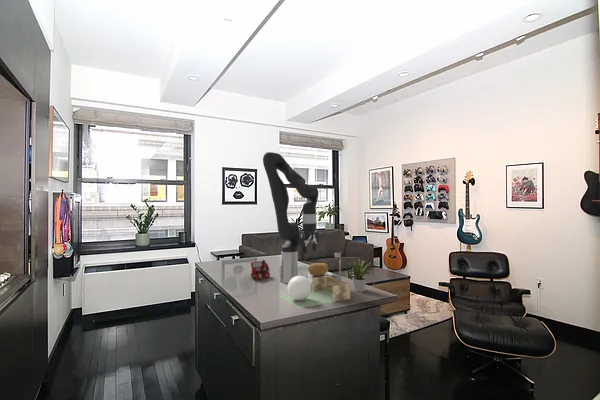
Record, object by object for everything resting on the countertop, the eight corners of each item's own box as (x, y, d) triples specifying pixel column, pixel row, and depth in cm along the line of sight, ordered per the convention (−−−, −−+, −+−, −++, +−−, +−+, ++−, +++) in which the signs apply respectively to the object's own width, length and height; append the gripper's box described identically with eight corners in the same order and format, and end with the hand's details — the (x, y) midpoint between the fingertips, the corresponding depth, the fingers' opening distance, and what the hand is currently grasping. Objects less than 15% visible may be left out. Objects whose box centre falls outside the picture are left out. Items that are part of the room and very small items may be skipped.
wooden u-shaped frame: (334, 301, 144) (334, 257, 144) (312, 290, 161) (311, 251, 161) (353, 298, 150) (353, 255, 149) (329, 287, 167) (329, 249, 166)
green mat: (299, 309, 135) (299, 308, 135) (279, 296, 153) (279, 296, 153) (351, 299, 149) (351, 298, 149) (328, 288, 166) (328, 288, 166)
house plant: (353, 296, 152) (353, 262, 152) (338, 289, 165) (338, 257, 165) (378, 293, 158) (378, 260, 158) (362, 286, 171) (362, 255, 171)
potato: (332, 276, 193) (332, 262, 193) (314, 279, 186) (314, 265, 186) (322, 273, 202) (322, 260, 201) (304, 276, 194) (304, 262, 194)
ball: (282, 301, 145) (282, 277, 145) (295, 295, 154) (295, 272, 154) (303, 305, 139) (303, 280, 139) (315, 298, 149) (315, 275, 149)
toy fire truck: (272, 277, 190) (272, 260, 190) (255, 281, 182) (255, 263, 182) (265, 275, 195) (265, 258, 195) (248, 279, 187) (248, 261, 187)
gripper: (311, 220, 181) (311, 248, 182) (295, 222, 170) (295, 253, 171) (322, 221, 176) (322, 250, 177) (306, 223, 165) (306, 255, 166)
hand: (309, 251), depth 174 cm, fingers open, 8 cm apart
